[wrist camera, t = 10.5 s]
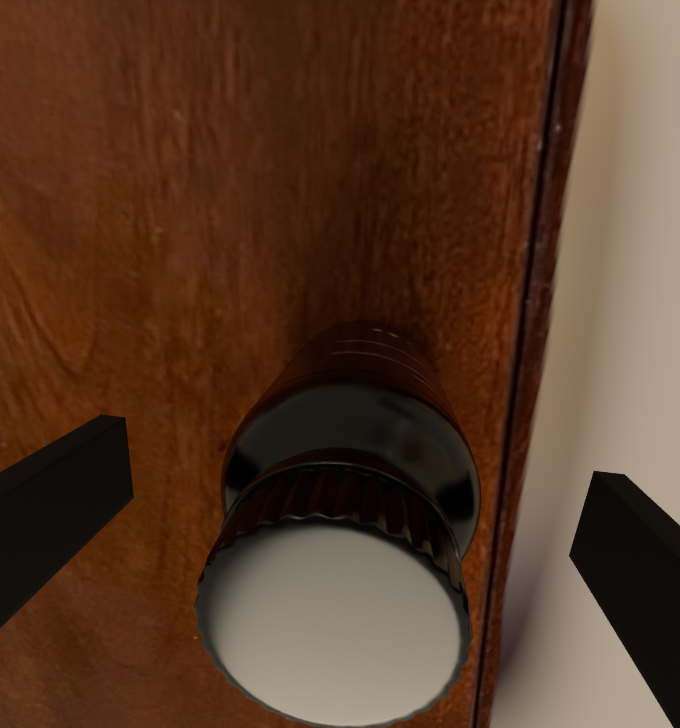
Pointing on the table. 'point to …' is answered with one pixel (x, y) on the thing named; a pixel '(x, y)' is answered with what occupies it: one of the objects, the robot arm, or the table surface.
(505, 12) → the table surface
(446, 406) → the supplement bottle
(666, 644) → the robot arm
